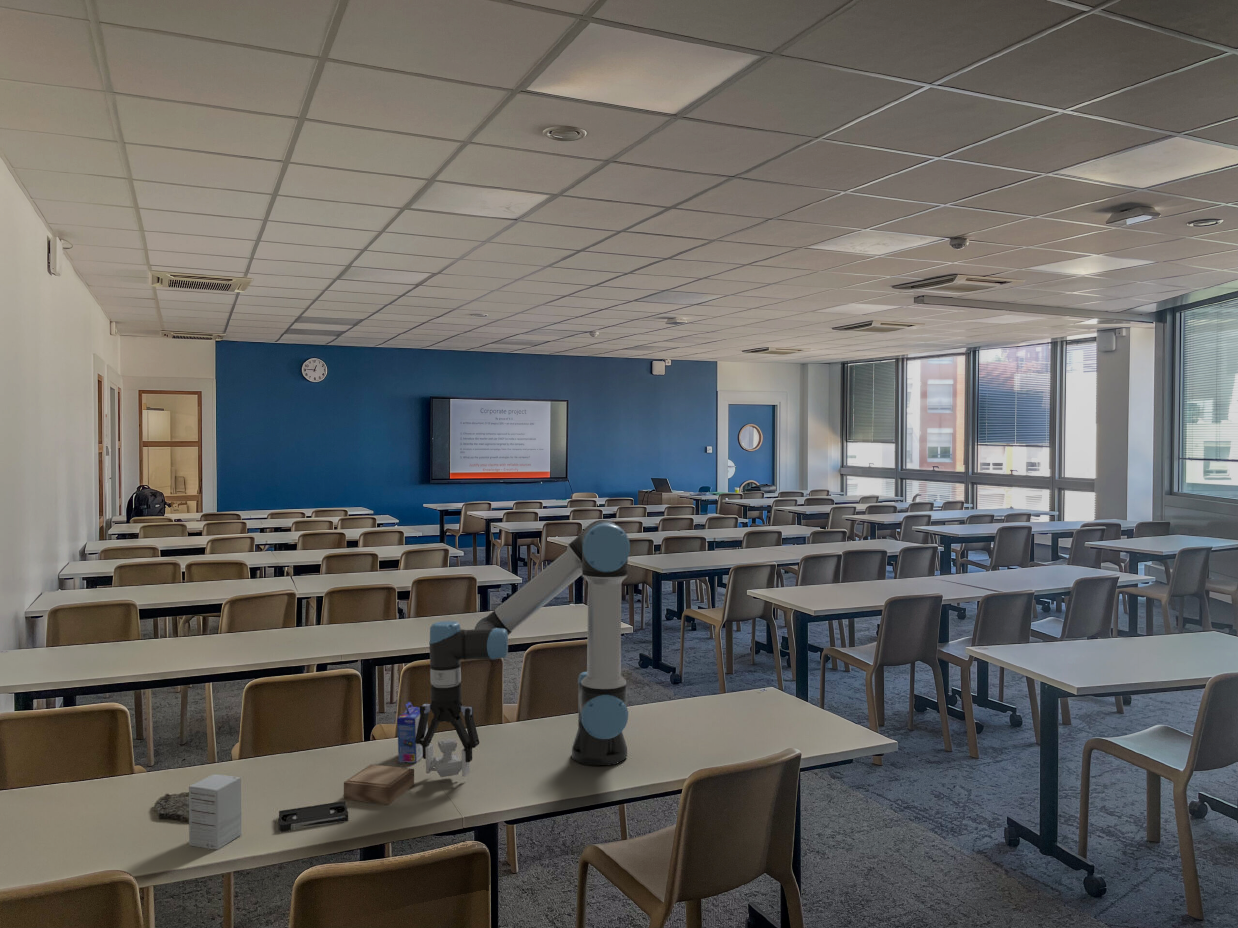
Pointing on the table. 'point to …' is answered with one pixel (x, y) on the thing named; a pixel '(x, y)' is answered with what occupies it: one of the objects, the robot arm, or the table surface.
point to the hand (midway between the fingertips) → (447, 772)
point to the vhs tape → (312, 816)
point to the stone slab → (173, 807)
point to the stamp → (447, 759)
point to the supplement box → (214, 811)
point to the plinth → (379, 784)
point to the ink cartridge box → (409, 735)
